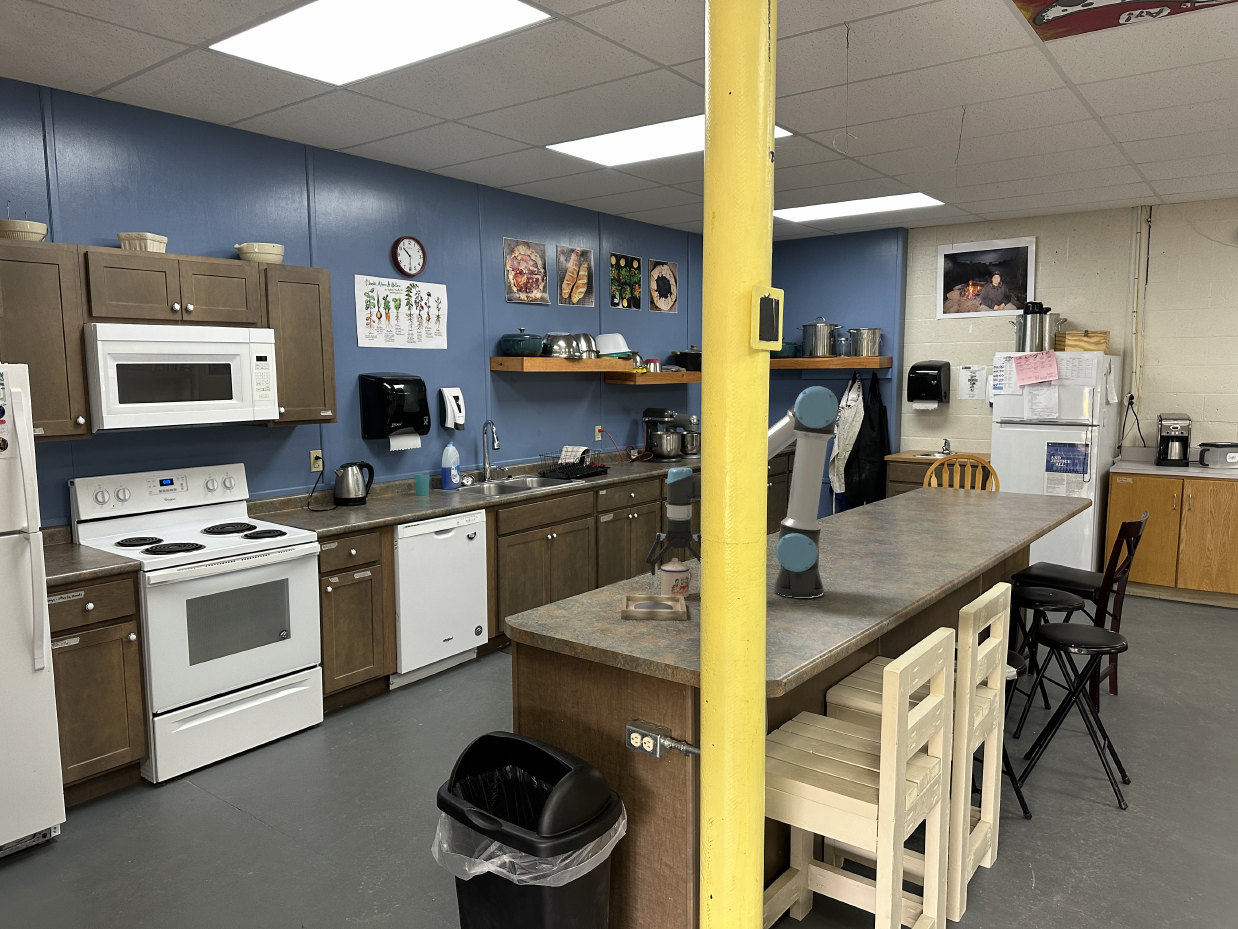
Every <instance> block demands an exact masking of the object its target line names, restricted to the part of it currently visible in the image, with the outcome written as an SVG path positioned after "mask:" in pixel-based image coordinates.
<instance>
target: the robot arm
mask: <svg viewBox="0 0 1238 929" xmlns="http://www.w3.org/2000/svg"><path fill="white" fill-rule="evenodd" d="M838 411H839V401H838V398H837V396H836V395H835V393H834V392H833V391H832V390H830V389H829V388H827V387H826V386H825V387H824V386H820V385H818V386H816V385H813V386H809V387H807V388H805V389H804V390H802V392H800V393H799V395H798V396H797V398H796V400H795V403H794V404H793V405H792V406H791V407H790V408H789V409H788V410H787V413H786V415H785V416H784V417H783V418H781V419H780V420H778V422H776V423H775V424H773V425H772V426H771V427H769V429H767V430H768V461H769V460H771V459H772V458H773V457H775V456H776V455H777V454H778V453H780V452H781V451H782V450H783V449H786V447H788V446H789V445H791V443H793V442H795V440H796V439H797V440H796V448H795V455H794V460H793V468H792V469H793V470H792V476H791V484H790V492H789V500H788V505H787V507H788V508H787V514H786V517H785V518H784V519H783V520H781V521H780V525H779V526H780V527H779V535H778V542H777V544H776V545H775V546H776V547H775V555H776V558H777V561H778V562H779V564H780V568H779V571H778V573H777V577H776V579H775V582H774V586H773V587H774V588H773V592H774V591H775V592H776V593H779V594H781V595H785V596H792V597H812V596H818V595H820V594H822V593H823V592H824V591H825V589H824V588H825V587H824V584H823V581H822V578H821V575H820V572H819V571H820V569H819V567H820V566H819V565H820V564H819V563H820V562H819V561H820V535H821V528H822V527H821V525H820V523H819V522H817V519H818V514H819V505H820V497H821V489H822V482H823V475H824V469H825V461H826V455H827V449H828V441H829V440H830V439H831V438H832V437H834V435H835V429H836V423H837V422H836V421H837V414H838ZM667 473H668V474H667V482H666V484H667V486H666V488H667V492H666V493H667V494H666V495H667V498H666V499H667V500H666V503H667V504H666V516H667V519H666V532H665V533H661V532H657V533H656V535H655V536H656V537H655V541H654V543H653V545H652V546H651V548H650V550H649V552H648V554H647V556H646V557H645V563H646V564H649V565H650V566H651V567H650V568H651V570H650V571H651V572H650V573H651V576H654V587H655V588H657V587H658V581H659V580H658V575H659V574H658V571H659V570H658V569H659V567H658V566H659V564H658V562H659V561H660V560H661V559H662V557H664V556H665V554H666V553H667V552H668V551H669V550H670V549H671V548H673V549H681V550H682V549H685V548H687V549H688V550H689V551H690V553H691V554H692V555H693V557H695V559H696V560H697V561H698V562H699V563H700V564H698V587H699V588H701V587H700V579H701V562H700V558H702V557H701V555H700V554H699V553H698V551H697V550H696V549H695V548H694V546H692V544H691V541H693V539H694V540H695V542H697V543H698V546H699V548H700V549H701V538H702V534H701V533H693V534H692V519H691V518H692V511H693V510H692V506H693V503H692V501H693V500H697V501H699V500H700V501H702V500H701V475H698V474H694V472H693V469H692V468H690V467H671V468H670V469H669V470H668V472H667ZM663 539H665V540H666V541H667V543H666V544H665V545H664V546H663V548H662V549H661V550H660V551H659V552H658V553H657V554H656V555H655V556H654V554H655V553H656V550H657V549H658V547H659V545H660V542H662V541H663ZM653 557H654V558H653ZM652 558H653V559H652ZM775 592H774V593H775ZM776 593H775V594H776ZM824 593H825V592H824Z"/></svg>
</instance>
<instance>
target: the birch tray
mask: <svg viewBox="0 0 1238 929" xmlns="http://www.w3.org/2000/svg"><path fill="white" fill-rule="evenodd" d="M685 602H686V601H685V598H684V597H683V596H664V595H661V594H660V595H656V594H654V595H650V594H648V595H647V594H646V595H645V594H622V597H621V608H620V609H621V610H620V615H621V616H620V618H621V620H651V621H652V620H655V621H657V620H658V621H659V620H660V621H661V620H662V621H665V620H668V621H669V620H670V621H671V620H672V621H687V614H688V613H687V607H686V603H685Z"/></svg>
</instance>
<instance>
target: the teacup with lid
mask: <svg viewBox="0 0 1238 929" xmlns="http://www.w3.org/2000/svg"><path fill="white" fill-rule="evenodd" d="M659 569H660V595H664V596H683V597H685V598H687V597H689V592H690V589H689V588H690V587H689V586H690V585H691V584H692V582H693V579H694V573H693V571H692V570H690V566H689V565H688V564H684V563H683V562H682V561H679V558H677V557H672V558H671V561H668V562H666V563H663V564H661V565H660V567H659Z"/></svg>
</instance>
